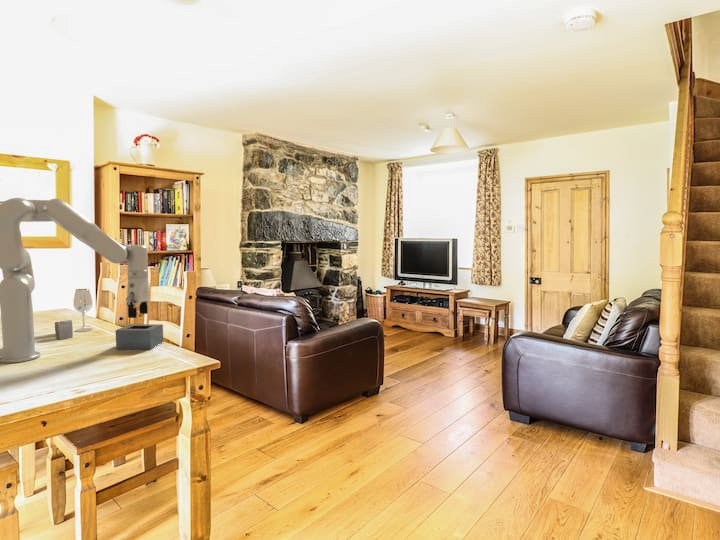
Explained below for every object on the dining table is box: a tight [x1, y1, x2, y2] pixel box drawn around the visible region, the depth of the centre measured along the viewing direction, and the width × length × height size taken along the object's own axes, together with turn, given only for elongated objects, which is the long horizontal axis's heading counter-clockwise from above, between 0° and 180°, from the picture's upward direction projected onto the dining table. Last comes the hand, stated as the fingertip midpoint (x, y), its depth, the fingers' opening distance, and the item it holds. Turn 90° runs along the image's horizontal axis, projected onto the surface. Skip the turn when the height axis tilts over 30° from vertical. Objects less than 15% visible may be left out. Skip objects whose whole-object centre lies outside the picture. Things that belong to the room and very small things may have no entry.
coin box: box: [115, 323, 164, 351], centre depth 190 cm, size 14×12×8 cm
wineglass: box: [73, 288, 94, 333], centre depth 219 cm, size 8×8×20 cm
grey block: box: [54, 319, 74, 341], centre depth 203 cm, size 7×9×8 cm
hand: (138, 315), depth 189 cm, fingers open, 9 cm apart
